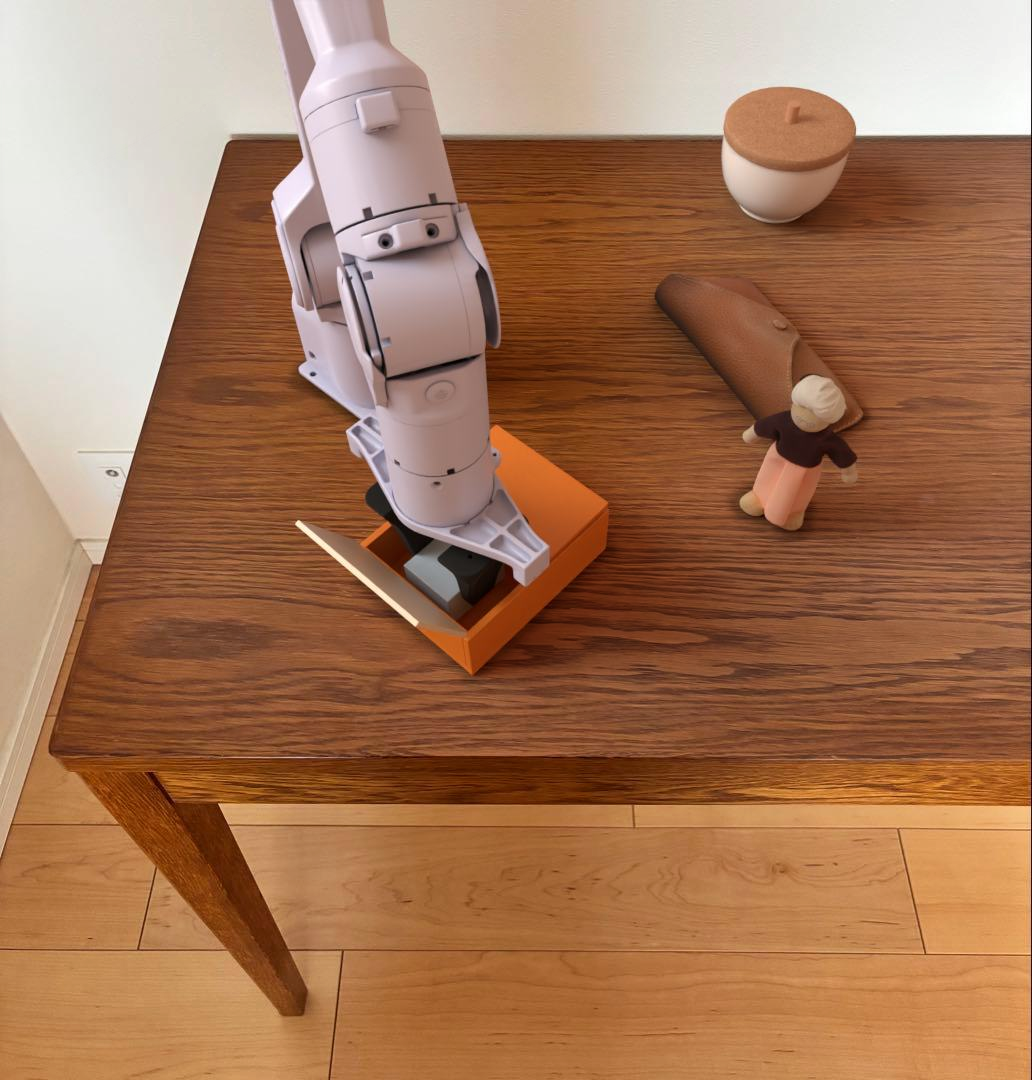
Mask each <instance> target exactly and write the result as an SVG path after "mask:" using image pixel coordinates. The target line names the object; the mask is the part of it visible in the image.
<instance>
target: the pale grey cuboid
mask: <svg viewBox="0 0 1032 1080" xmlns="http://www.w3.org/2000/svg"><path fill="white" fill-rule="evenodd" d="M451 545H452V544H449V543H446V542H443V541H440V540H437V539H434V540H433V541H432V542H430V543H429V544H428V545H427V546H426V547H425V548H423V549H422V550H421V551H420V552H419V553H418V554H416V555H415V556H414V557H413V558H412V559H411V560H409V561H408V562H407V563H406V564H405V565H404V568H405V573H406V578H407V581H408V582H409V583H410V584H411V585H413V586H414V587H415V588H416V589H417V590H419V591H420V592H421V593H422V594H423V595H425V596H426V597H427V598H428V599H429V600H431V601H432V602H433V603H434V604H436V605H437V606H438V607H439V608H440V609H442V610H443V611H444V612H445V613H446V614H448V615H449V616H450V617H451V618H452V619H454V620H455V621H457V620H458V619H459V618H460V617H462V616H463V615H464V614H465V613H466V612H467V611H468V610H469V609H470V608H471V607H472V605H471V604H469V603H468V602H467V601H466V600H465V599H464V598H463V596H462V595H461V592H460V590H459V586H458V583H457V580H456V578H455V576H454V574H453V573H452V572H450V571H449V570H448V569H447V568H445V567H444V566H443V565H442V564H440V563H439V562H438V559H437V558H438V557H439V556H440V555H441V554H442V553H443V552H444V551H445V550H447V549H448V548H449V547H450V546H451ZM504 577H505V566H504V563H503V565H502V567H501V569H500V571H499V574H498V576H497V579H496V582H495V585H497V584H498V583H499V582H500V581H501V580H502V579H503V578H504Z"/></svg>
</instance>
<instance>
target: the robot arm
mask: <svg viewBox="0 0 1032 1080" xmlns="http://www.w3.org/2000/svg"><path fill="white" fill-rule="evenodd" d="M266 4H267V10H268V12H269V18H270V21H271V25H272V30H273V35H274V38H275V42H276V47H277V51H278V55H279V60H280V64H281V68H282V73H283V76H284V77H283V78H284V81H285V85H286V89H287V93H288V97H289V102H290V106H291V109H292V115H293V118H294V122H295V126H296V131H297V136H298V139H299V144H300V149H301V152H302V156H303V157H302V158H301V160H300V162H299V163H298V164H297V165H296V166H295V167H294V168H293V170H291V172H289V174H288V175H287V176H286V177H284V178H283V179H282V180H281V181H280V183H279V184H277V186H276V187H275V188H274V190H273V191H272V197H273V199H272V200H271V202H270V205H271V209H272V213H273V216H274V221H275V224H276V225H275V231H276V235H277V239H278V243H279V246H280V247H279V248H280V250H281V254H282V257H283V261H284V264H285V268H286V272H287V275H288V279H289V282H290V285H291V289H292V295H291V308H292V312H293V316H294V319H295V323H296V327H297V330H298V335H299V337H300V342H301V346H302V349H303V352H304V356H305V359H306V361H305V362H303V363H302V364H300V365H299V366H298V373H299V375H300V376H301V377H303V378H305V379H306V380H307V381H309V382H310V383H311V384H313V385H314V386H315V387H317V388H318V389H319V390H320V391H322V392H324V393H325V395H327V396H328V397H330V398H331V399H333V400H334V401H335V402H337V404H339V405H340V406H342V407H343V408H345V409H346V410H347V411H349V412H350V413H351V414H353V415H354V416H355V417H356V418H358V419H359V420H358V421H357V422H355V423H354V424H353V425H352V426H350V427H348V428H347V429H346V430H345V434H346V437H347V441H348V446H349V450H350V452H351V453H352V454H353V455H355V456H356V457H357V458H359V459H364V460H365V461H366V463H367V464H368V466H369V468H370V470H371V472H372V474H373V475H374V477H375V479H376V482H375V483H374V484H372V485H371V486H369V488H367V490H366V492H365V496H364V498H365V504H366V505H367V506H368V507H369V508H371V509H372V510H373V511H374V512H375V513H376V514H378V515H379V516H380V517H382V518H383V519H384V520H385V521H386V522H387V521H388V522H389V523H390V524H391V526H392V527H393V528H394V529H395V531H396V532H397V533H398V535H399V536H400V538H401V539H402V541H403V543H404V544H405V546H406V547H407V549H408V551H409V552H410V554H411V555H412V556H413V557H414V556H415V555H416V554H418V553H419V552H420V551H421V550H422V549H423V548H425V547H426V546H427V545H428V544H429V543H430V542H432V541H433V540H434V539H437V540H440V541H443V542H446V543H449V544H452V545H451V546H450V547H449V548H448V549H447V550H445V551H444V552H443V553H442V554H441V555H440V556H439V557H438V558H437V559H438V562H439V563H440V564H442V565H443V566H444V567H445V568H447V569H448V570H449V571H450V572H452V573H453V574H454V576H455V578H456V580H457V583H458V586H459V590H460V592H461V595H462V596H463V598H464V599H465V600H466V601H467V602H468V603H469V604H471V605H472V606H475V605H476V604H477V603H478V602H479V601H480V600H481V599H482V598H483V597H484V596H485V595H487V594H488V593H489V592H490V591H491V590H492V589H493V588H494V586H495V582H496V579H497V576H498V574H499V571H500V569H501V567H502V565H503V563H506V564H508V565H510V566H511V567H512V568H513V574H514V578H515V579H516V580H517V581H518V582H520V583H521V584H522V585H523V586H525V587H527V586H528V585H529V584H530V583H531V582H532V581H533V580H535V579H536V578H537V577H538V576H539V575H540V574H541V573H542V572H543V571H544V570H545V569H546V568H547V567H548V566H549V564H550V546H549V545H548V544H546V543H545V542H544V541H543V540H542V539H540V538H539V537H538V536H537V535H536V533H535V532H534V531H533V530H532V528H531V527H530V526H529V521H528V519H527V518H526V517H525V516H524V515H523V514H522V513H521V512H520V510H519V509H518V507H517V506H516V504H515V503H514V501H513V499H512V498H511V496H510V495H509V493H508V492H507V490H506V488H505V487H504V485H503V484H502V482H501V481H500V479H499V478H498V476H497V474H496V473H495V470H496V469H497V468H498V467H499V466H500V465H501V463H502V459H501V453H500V452H499V450H497V449H496V448H494V447H493V446H491V440H490V429H491V424H490V411H489V410H490V409H489V408H490V407H489V395H488V379H487V363H486V345H487V343H488V345H490V347H492V348H493V349H498V348H499V347H500V345H501V340H502V323H501V322H502V321H501V315H500V314H501V313H500V304H499V297H498V293H497V292H498V291H497V288H496V287H497V286H496V283H495V279H494V275H493V271H492V269H491V265H490V263H489V260H488V258H487V254H486V252H485V249H484V246H483V244H482V241H481V240H480V237H479V235H478V233H477V230H476V227H475V225H474V223H473V219H472V216H471V212H470V210H469V207H468V204H467V202H462V203H459V201H458V196H457V192H456V188H455V185H454V184H455V183H454V180H453V177H452V173H451V169H450V164H449V160H448V157H447V152H446V149H445V144H444V141H443V137H442V133H441V128H440V125H439V121H438V117H437V113H436V108H435V105H434V100H433V97H432V93H431V89H430V88H431V87H430V85H429V80H428V77H427V74H426V73H425V71H424V70H423V69H422V68H421V67H420V66H419V65H417V64H416V62H414V61H413V60H412V59H410V58H408V56H407V55H404V54H403V53H402V52H401V51H400V50H398V49H397V48H396V47H395V46H394V45H393V44H392V42H391V37H390V32H389V25H388V21H387V15H386V9H385V2H384V0H266Z"/></svg>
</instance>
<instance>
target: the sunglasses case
mask: <svg viewBox="0 0 1032 1080" xmlns="http://www.w3.org/2000/svg"><path fill="white" fill-rule="evenodd" d="M653 296H654V300H655V302H656V304H657V306H658V307H659V308H660V309H661V311H663V313H664V314H665V315H666V316H667V318H669V320H671V322H672V323H674V325H675V326H676V327H677V328H678V329H679V330H680V331H681V332H682V333H683V335H684V336H685V337H686V339H688V341H690V343H691V344H692V345H693V346H694V347H695V348H696V349H697V350H698V352H699V353H700V354H701V356H702V357H703V358H704V359H705V360H706V361H707V362H708V363H709V365H710V366H711V368H712V369H713V370H714V371H715V372H716V373H717V375H718V376H719V377H720V378H721V379H722V380H723V382H724V383H725V384H726V385H727V387H728V388H729V389H730V390H731V392H732V393H733V394H734V395H735V397H736V398H737V399H738V400H739V401H740V402H741V404H743V407H744V408H745V409H746V410H747V411H748V412H749V413H750V415H751V416H752V417H753V419H754V420H755V422H756V421H757V420H759V419H762V418H765V417H767V416H770V415H773V414H776V413H779V412H782V411H788V410H791V408H792V404H793V401H792V396H791V395H792V391H793V389H794V387H795V386H796V385H797V384H798V383H799V382H800V381H801V380H803V379H804V378H806V377H808V376H811V375H817V376H820V377H824V378H829V379H831V380H832V381H833V382H834V384H835V385H836V386H837V387H838V388H839V389H840V390H841V392H842V394H843V396H844V399H845V404H846V407H847V409H845V411H844V414H843V416H842V417H841V418H840V419H839V420H838V421H837V422H835V423H830V424H829V425H828V426H829V427H830V428H831V430H832V431H833V432H834V433H836V434H837V435H838V434H839V433H841V432H843V431H844V430H847V429H849V428H851V427H853V426H856V425H857V424H858V423H860V422H862V420H863V419H864V417H865V414H864V411H863V409H862V408H861V406H860V404H859V403H858V401H857V400H856V399H855V397H854V396H853V394H851V392H850V390H849V389H848V388H847V387H846V386H845V385H844V384H843V382H842V381H841V380H840V378H838V376H837V375H836V374H835V373H834V372H833V370H831V368H830V367H829V366H828V365H827V363H825V361H823V360H822V359H821V358H820V356H819V355H818V354H817V352H816V351H814V348H812V347H811V346H810V345H809V344H808V343H807V341H806V340H805V339H803V337H802V336H801V335H800V332H799V330H798V329H797V327H795V326H794V325H793V323H792V322H791V321H790V320H789V318H787V317H786V316H785V315H784V314H783V313H781V312H780V311H778V309H777V308H775V306H774V305H773V304H772V302H770V300H769V299H768V298H767V297H766V296H765V295H764V293H762V292H761V291H760V290H759V288H757V286H756V285H755V284H754V283H753V282H751V280H749V279H748V277H746V276H744V275H735V276H732V277H722V276H721V277H717V276H716V277H715V276H714V277H712V276H710V277H709V276H707V277H706V276H692V275H687V274H685V273H683V272H671V273H669V274H667V275H665V277H664V278H662V279H661V280H660V282H659V283H658V285H657V286H656V288H655V291H654V295H653ZM770 440H771V441H772V443H774V442H775V440H772V439H770Z"/></svg>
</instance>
